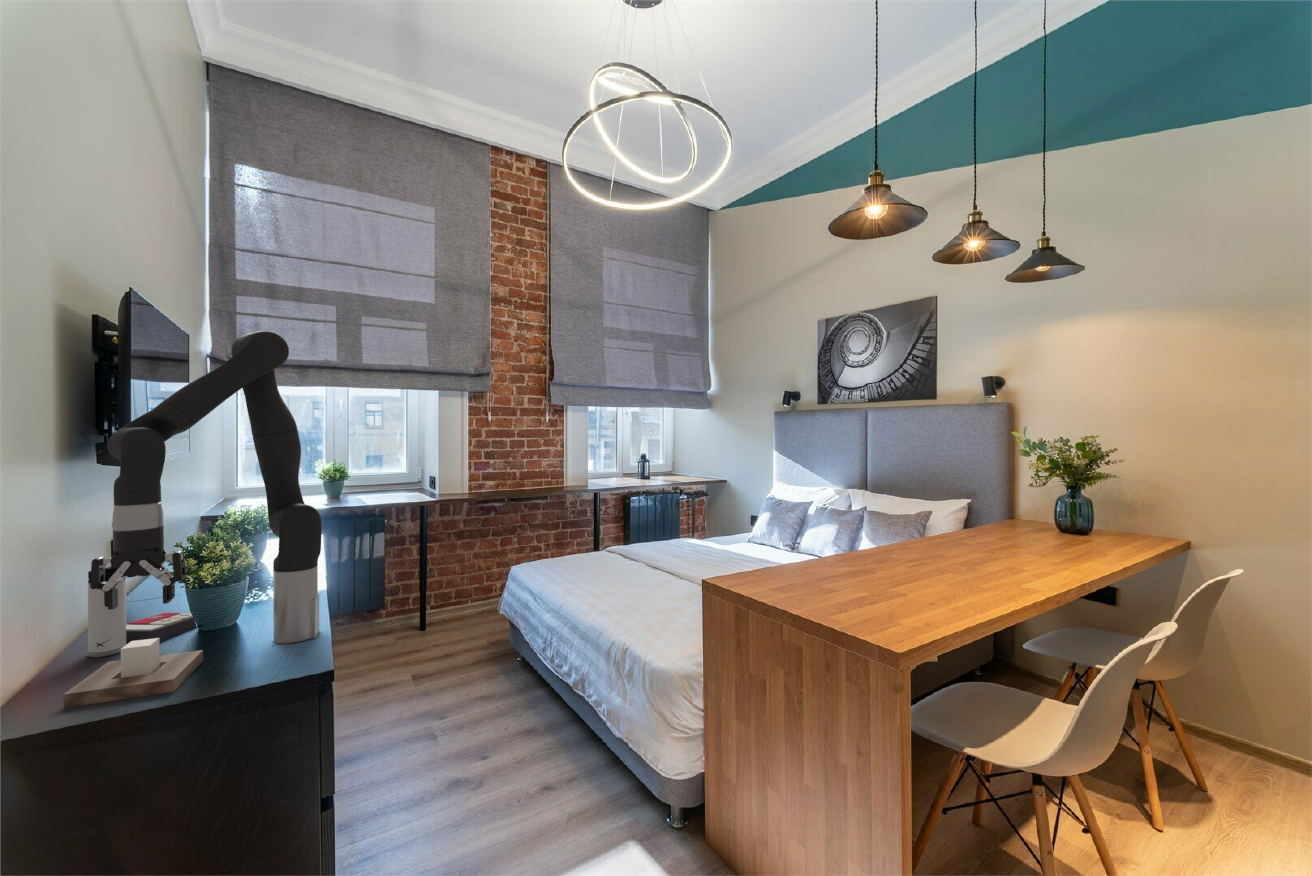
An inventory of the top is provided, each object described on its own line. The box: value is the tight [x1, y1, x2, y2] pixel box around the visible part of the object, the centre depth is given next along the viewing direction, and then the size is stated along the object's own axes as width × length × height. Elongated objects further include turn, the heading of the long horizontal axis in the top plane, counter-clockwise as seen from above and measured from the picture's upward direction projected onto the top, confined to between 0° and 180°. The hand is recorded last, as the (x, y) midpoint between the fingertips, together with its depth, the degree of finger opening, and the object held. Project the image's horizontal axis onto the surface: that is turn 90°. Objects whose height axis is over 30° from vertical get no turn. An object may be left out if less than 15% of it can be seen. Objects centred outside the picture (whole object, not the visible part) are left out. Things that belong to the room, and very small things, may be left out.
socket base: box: [63, 649, 204, 709], centre depth 112 cm, size 16×16×2 cm
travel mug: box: [87, 566, 127, 658], centre depth 127 cm, size 6×7×20 cm
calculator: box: [126, 612, 197, 645], centre depth 139 cm, size 11×4×15 cm
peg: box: [120, 638, 161, 678], centre depth 112 cm, size 4×4×8 cm
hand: (140, 605), depth 112 cm, fingers open, 8 cm apart
